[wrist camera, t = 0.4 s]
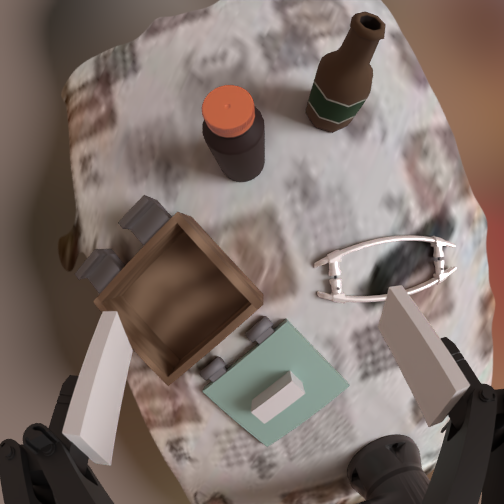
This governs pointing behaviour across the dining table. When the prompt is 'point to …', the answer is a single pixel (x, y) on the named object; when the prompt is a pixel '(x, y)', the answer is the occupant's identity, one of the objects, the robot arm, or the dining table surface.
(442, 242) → the door handle
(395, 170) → the dining table surface
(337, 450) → the dining table surface
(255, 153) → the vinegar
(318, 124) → the beer bottle
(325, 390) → the door
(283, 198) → the dining table surface
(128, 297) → the cabinet
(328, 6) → the dining table surface
